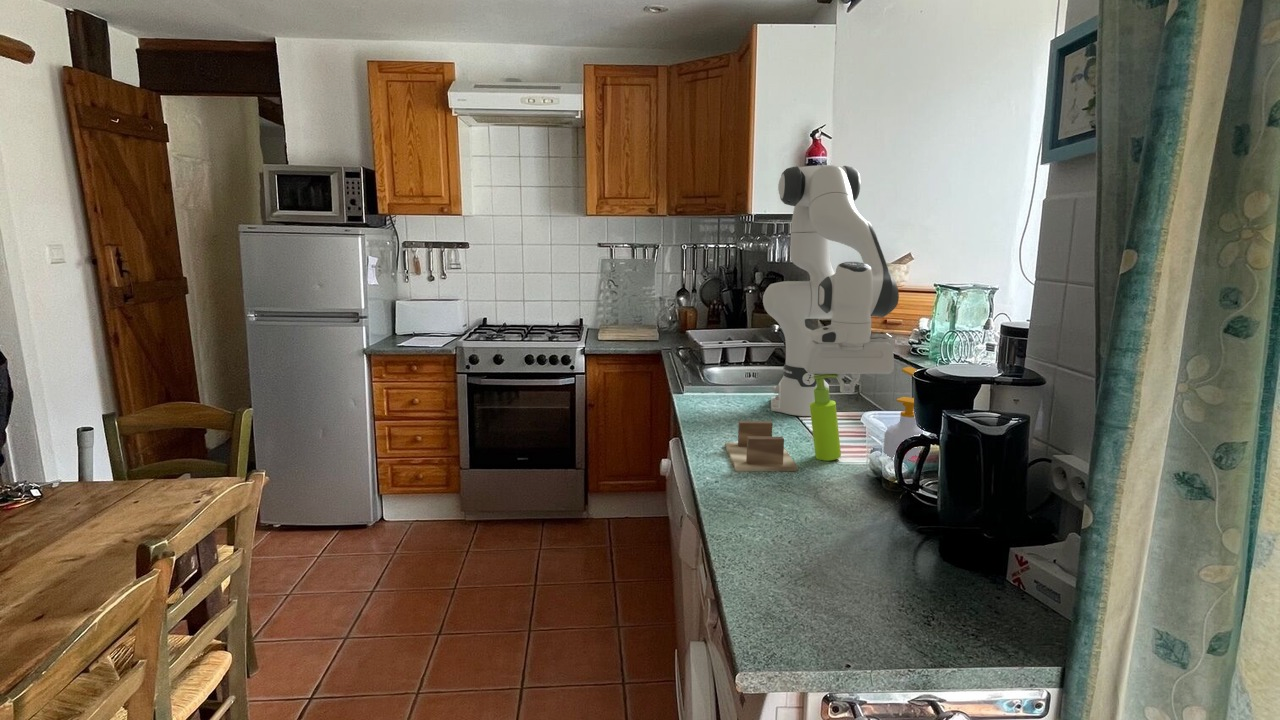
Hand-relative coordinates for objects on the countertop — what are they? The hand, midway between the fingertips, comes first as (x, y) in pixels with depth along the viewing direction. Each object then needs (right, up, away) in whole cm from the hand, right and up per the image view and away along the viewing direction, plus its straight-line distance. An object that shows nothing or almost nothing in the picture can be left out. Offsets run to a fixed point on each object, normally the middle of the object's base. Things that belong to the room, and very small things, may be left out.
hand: (846, 392), depth 158 cm
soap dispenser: (-3, -16, +3) cm, 16 cm away
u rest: (-20, -16, +3) cm, 26 cm away
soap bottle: (+9, -19, -11) cm, 23 cm away
